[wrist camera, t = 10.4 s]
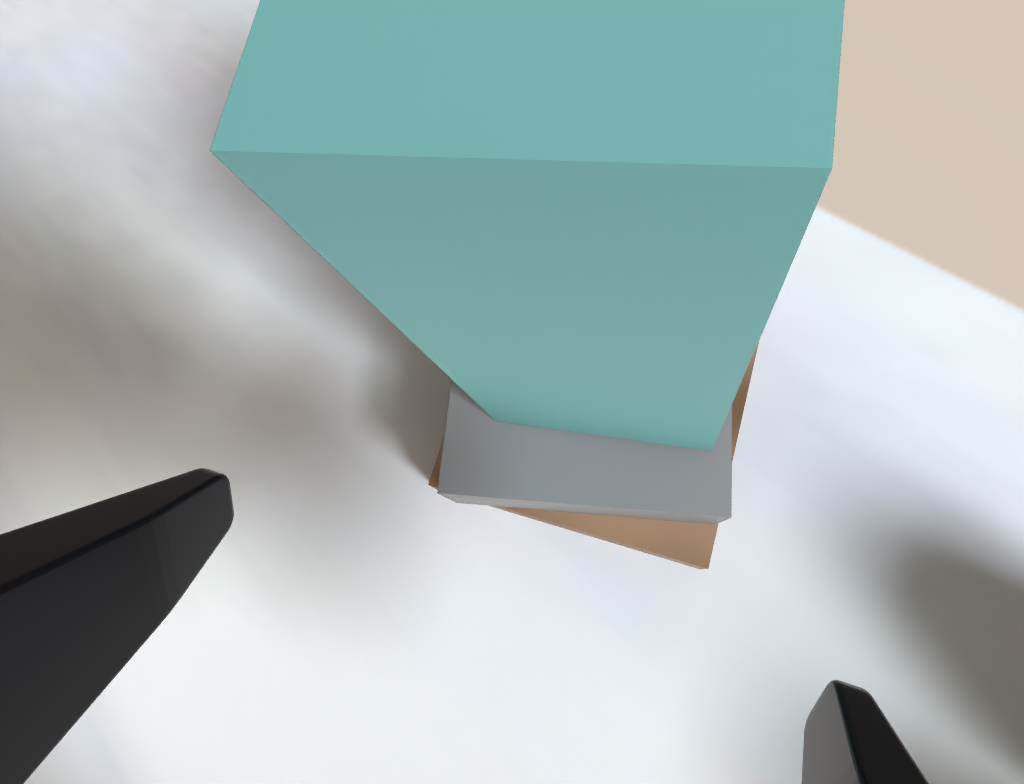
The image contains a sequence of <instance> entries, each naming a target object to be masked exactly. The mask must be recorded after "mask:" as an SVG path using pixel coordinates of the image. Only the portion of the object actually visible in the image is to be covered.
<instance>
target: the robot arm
mask: <svg viewBox="0 0 1024 784" xmlns="http://www.w3.org/2000/svg"><path fill="white" fill-rule="evenodd" d="M233 516H234V511H233V504H232V496H231V489H230V482H229V479H228V478H227V476H225V475H224V474H221V473H218V472H215V471H212V470H209V469H205V468H200V469H196V470H193V471H190V472H187V473H184V474H181V475H178V476H175V477H172V478H169V479H166V480H163V481H160V482H157V483H154V484H151V485H148V486H145V487H142V488H139V489H136V490H133V491H130V492H127V493H124V494H121V495H118V496H115V497H112V498H109V499H106V500H103V501H100V502H97V503H94V504H91V505H88V506H85V507H82V508H79V509H76V510H73V511H70V512H67V513H64V514H61V515H58V516H55V517H52V518H49V519H46V520H43V521H40V522H37V523H34V524H31V525H28V526H25V527H22V528H19V529H16V530H13V531H10V532H7V533H4V534H1V535H0V784H24V782H25V781H26V780H27V779H28V778H29V777H30V775H31V774H32V773H33V772H34V771H35V770H36V768H37V767H38V766H39V765H40V764H41V763H42V761H43V760H44V759H45V758H46V757H47V756H48V754H49V753H50V752H51V751H52V750H53V749H54V747H55V746H56V745H57V744H58V743H59V742H60V740H61V739H62V738H63V737H64V736H65V735H66V733H67V732H68V731H69V730H70V729H71V728H72V726H73V725H74V724H75V723H76V722H77V721H78V719H79V718H80V717H81V716H82V715H83V714H84V712H85V711H86V710H87V709H88V708H89V707H90V705H91V704H92V703H93V702H94V701H95V700H96V698H97V697H98V696H99V695H100V694H101V693H102V691H103V690H104V689H105V688H106V687H107V686H108V684H109V683H110V682H111V681H112V680H113V679H114V677H115V676H116V675H117V674H118V673H119V672H120V670H121V669H122V668H123V667H124V666H125V665H126V663H127V662H128V661H129V660H130V659H131V658H132V656H133V655H134V654H135V653H136V652H137V651H138V649H139V648H140V647H141V646H142V645H143V644H144V642H145V641H146V640H147V639H148V638H149V637H150V635H151V634H152V633H153V632H154V631H155V630H156V628H157V627H158V626H159V625H160V624H161V623H162V621H163V620H164V619H165V618H166V616H167V615H168V614H169V613H170V612H171V610H172V609H173V608H174V606H175V605H176V604H177V602H178V601H179V600H180V598H181V597H182V596H183V594H184V593H185V591H186V590H187V589H188V587H189V586H190V584H191V583H192V581H193V580H194V579H195V577H196V576H197V574H198V573H199V571H200V570H201V569H202V567H203V566H204V564H205V563H206V562H207V560H208V559H209V557H210V556H211V554H212V553H213V552H214V550H215V549H216V547H217V546H218V544H219V543H220V542H221V540H222V539H223V537H224V536H225V534H226V533H227V532H228V530H229V528H230V526H231V524H232V521H233ZM802 784H929V783H928V782H927V780H926V779H925V777H924V776H923V774H922V773H921V771H920V770H919V768H918V766H917V765H916V763H915V762H914V760H913V759H912V757H911V756H910V754H909V753H908V751H907V750H906V748H905V746H904V745H903V743H902V742H901V740H900V739H899V737H898V736H897V734H896V733H895V731H894V729H893V728H892V726H891V725H890V723H889V722H888V720H887V719H886V717H885V716H884V714H883V713H882V711H881V709H880V708H879V706H878V705H877V703H876V702H875V700H874V699H873V697H872V696H871V695H870V694H869V693H868V692H867V691H866V690H865V689H862V688H860V687H857V686H854V685H851V684H848V683H845V682H842V681H839V680H833V681H831V682H830V683H829V684H828V685H827V686H826V688H825V690H824V691H823V693H822V695H821V696H820V698H819V699H818V701H817V703H816V704H815V706H814V708H813V709H812V711H811V713H810V714H809V716H808V719H807V722H806V725H805V731H804V748H803V769H802Z"/></svg>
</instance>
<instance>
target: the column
mask: <svg viewBox="0 0 1024 784" xmlns="http://www.w3.org/2000/svg"><path fill="white" fill-rule="evenodd" d="M844 1H845V0H260V3H259V6H258V9H257V12H256V15H255V18H254V21H253V24H252V27H251V30H250V33H249V36H248V39H247V42H246V45H245V48H244V50H243V53H242V56H241V59H240V62H239V65H238V68H237V71H236V74H235V77H234V80H233V83H232V86H231V89H230V92H229V95H228V98H227V101H226V104H225V107H224V110H223V113H222V116H221V119H220V122H219V125H218V128H217V131H216V134H215V137H214V140H213V143H212V146H211V149H210V151H211V152H212V153H213V154H214V155H215V156H216V157H217V158H218V159H219V160H220V161H221V162H222V163H223V164H224V165H226V166H227V167H228V168H229V169H230V170H231V171H232V172H233V173H234V174H235V175H236V176H237V177H238V178H239V179H240V180H241V181H242V182H243V183H245V184H246V185H247V186H248V187H249V188H250V189H251V190H252V191H253V192H254V193H255V194H256V195H257V196H258V197H259V198H260V199H261V200H263V201H264V202H265V203H266V204H267V205H268V206H269V207H270V208H271V209H272V210H273V211H274V212H275V213H276V214H277V215H278V216H279V217H281V218H282V219H283V220H284V221H285V222H286V223H287V224H288V225H289V226H290V227H291V228H292V229H293V230H294V231H295V232H296V233H297V234H298V235H300V236H301V237H302V238H303V239H304V240H305V241H306V242H307V243H308V244H309V245H310V246H311V247H312V248H313V249H314V250H315V251H316V252H318V253H319V254H320V255H321V256H322V257H323V258H324V259H325V260H326V261H327V262H328V263H329V264H330V265H331V266H332V267H333V268H334V269H335V270H337V271H338V272H339V273H340V274H341V275H342V276H343V277H344V278H345V279H346V280H347V281H348V282H349V283H350V284H351V285H352V286H353V287H355V288H356V289H357V290H358V291H359V292H360V293H361V294H362V295H363V296H364V297H365V298H366V299H367V300H368V301H369V302H370V303H371V304H372V305H374V306H375V307H376V308H377V309H378V310H379V311H380V312H381V313H382V314H383V315H384V316H385V317H386V318H387V319H388V320H389V321H390V322H392V323H393V324H394V325H395V326H396V327H397V328H398V329H399V330H400V331H401V332H402V333H403V334H404V335H405V336H406V337H407V338H408V339H410V340H411V341H412V342H413V343H414V344H415V345H416V346H417V347H418V348H419V349H420V350H421V351H422V352H423V353H424V354H425V355H426V356H427V357H429V358H430V359H431V360H432V361H433V362H434V363H435V364H436V365H437V366H438V367H439V368H440V369H441V370H442V371H443V372H444V373H445V374H447V375H448V376H449V377H450V378H451V379H452V380H453V381H454V382H455V383H456V384H457V385H458V386H459V387H460V388H461V389H462V390H463V391H464V392H466V393H467V394H468V395H469V396H470V397H471V398H472V399H473V400H474V401H475V402H476V403H477V404H478V405H479V406H480V407H481V408H482V409H484V410H485V411H486V412H487V413H488V414H489V415H490V416H491V417H492V418H493V419H494V420H495V421H499V422H506V423H513V424H520V425H528V426H535V427H542V428H549V429H557V430H564V431H571V432H578V433H585V434H593V435H600V436H607V437H614V438H622V439H629V440H636V441H643V442H651V443H658V444H665V445H672V446H679V447H687V448H694V449H701V450H708V451H712V450H713V447H714V445H715V443H716V440H717V438H718V436H719V433H720V431H721V429H722V426H723V424H724V421H725V419H726V417H727V414H728V412H729V410H730V407H731V405H732V403H733V400H734V398H735V396H736V393H737V391H738V389H739V386H740V384H741V381H742V379H743V377H744V374H745V372H746V370H747V367H748V365H749V363H750V360H751V358H752V356H753V353H754V351H755V349H756V346H757V344H758V341H759V339H760V337H761V334H762V332H763V330H764V327H765V325H766V323H767V320H768V318H769V316H770V313H771V311H772V309H773V306H774V304H775V301H776V299H777V297H778V294H779V292H780V290H781V287H782V285H783V283H784V280H785V278H786V276H787V273H788V271H789V269H790V266H791V264H792V261H793V259H794V257H795V254H796V252H797V250H798V247H799V245H800V243H801V240H802V238H803V236H804V233H805V231H806V229H807V226H808V224H809V221H810V219H811V217H812V214H813V212H814V210H815V207H816V205H817V203H818V200H819V198H820V196H821V193H822V191H823V189H824V186H825V183H826V181H827V179H828V176H829V174H830V172H831V170H832V162H833V150H834V136H835V122H836V109H837V96H838V82H839V69H840V68H839V67H840V56H841V42H842V28H843V15H844Z"/></svg>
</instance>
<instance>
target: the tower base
mask: <svg viewBox="0 0 1024 784" xmlns="http://www.w3.org/2000/svg"><path fill="white" fill-rule="evenodd" d="M758 343H759V341H758ZM757 347H758V344H757V346H756V349H755V351H754V353H753V356H752V358H751V360H750V363H749V365H748V367H747V370H746V372H745V374H744V377H743V379H742V381H741V384H740V386H739V389H738V391H737V393H736V396H735V398H734V400H733V403H732V460H733V455H734V451H735V446H736V442H737V437H738V433H739V428H740V424H741V419H742V415H743V410H744V406H745V401H746V397H747V392H748V388H749V383H750V379H751V374H752V370H753V365H754V361H755V356H756V352H757ZM443 444H444V439H443V442H442V445H441V448H440V451H439V454H438V457H437V460H436V463H435V466H434V469H433V472H432V475H431V478H430V481H429V484H428V485H430V486H432V487H434V488H436V489H437V490H438V484H439V476H440V468H441V460H442V452H443ZM488 506H490V505H488ZM492 507H495V508H498V509H502V510H505V511H508V512H512V513H515V514H518V515H522V516H525V517H528V518H532V519H535V520H538V521H542V522H545V523H548V524H552V525H555V526H558V527H562V528H565V529H568V530H572V531H575V532H578V533H582V534H585V535H588V536H592V537H595V538H598V539H602V540H605V541H608V542H612V543H615V544H618V545H622V546H625V547H628V548H632V549H635V550H638V551H642V552H645V553H648V554H652V555H655V556H658V557H661V558H665V559H668V560H671V561H675V562H678V563H681V564H685V565H688V566H691V567H695V568H698V569H708V567H709V563H710V558H711V554H712V549H713V545H714V540H715V536H716V531H717V527H718V523H717V524H704V523H692V522H680V521H668V520H656V519H645V518H633V517H621V516H609V515H597V514H585V513H573V512H562V511H550V510H538V509H526V508H514V507H502V506H492Z"/></svg>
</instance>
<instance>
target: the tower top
mask: <svg viewBox="0 0 1024 784" xmlns="http://www.w3.org/2000/svg"><path fill="white" fill-rule="evenodd" d="M731 488H732V405H731V407H730V410H729V412H728V414H727V417H726V419H725V421H724V424H723V426H722V429H721V431H720V433H719V436H718V438H717V440H716V443H715V445H714V447H713V450H712V451H708V450H701V449H694V448H687V447H679V446H672V445H665V444H658V443H651V442H643V441H636V440H629V439H622V438H614V437H607V436H600V435H593V434H585V433H578V432H571V431H564V430H557V429H549V428H542V427H535V426H528V425H520V424H513V423H506V422H499V421H495V420H494V419H493V418H492V417H491V416H490V415H489V414H488V413H487V412H486V411H485V410H484V409H482V408H481V407H480V406H479V405H478V404H477V403H476V402H475V401H474V400H473V399H472V398H471V397H470V396H469V395H468V394H467V393H466V392H464V391H463V390H462V389H461V388H460V387H459V386H458V385H457V384H456V383H455V382H454V381H453V380H451V388H450V396H449V404H448V412H447V420H446V428H445V436H444V444H443V452H442V460H441V468H440V476H439V484H438V492H437V493H438V494H440V495H442V496H444V497H446V498H448V499H450V500H452V501H454V502H456V503H467V504H479V505H490V506H502V507H514V508H526V509H538V510H550V511H562V512H573V513H585V514H597V515H609V516H621V517H633V518H645V519H656V520H668V521H680V522H692V523H704V524H717V523H720V522H722V521H724V520H727V519H729V518H731Z"/></svg>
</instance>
